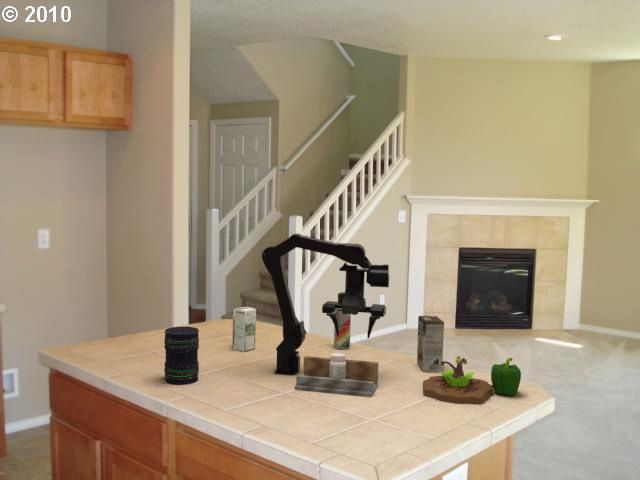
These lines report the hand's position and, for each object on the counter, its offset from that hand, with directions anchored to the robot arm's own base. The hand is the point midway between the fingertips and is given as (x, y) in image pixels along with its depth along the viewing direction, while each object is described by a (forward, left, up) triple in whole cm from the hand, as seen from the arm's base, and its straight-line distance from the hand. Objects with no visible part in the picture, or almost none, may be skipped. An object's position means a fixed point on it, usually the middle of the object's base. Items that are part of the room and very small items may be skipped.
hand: (353, 336), depth 208 cm
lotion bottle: (-10, +33, -12) cm, 37 cm away
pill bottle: (-2, -13, -11) cm, 17 cm away
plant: (+32, -8, -13) cm, 35 cm away
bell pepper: (+45, -4, -12) cm, 47 cm away
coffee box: (+22, +16, -12) cm, 30 cm away
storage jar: (-47, -20, -12) cm, 53 cm away
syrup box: (-42, +20, -12) cm, 48 cm away
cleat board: (-2, -15, -12) cm, 19 cm away
